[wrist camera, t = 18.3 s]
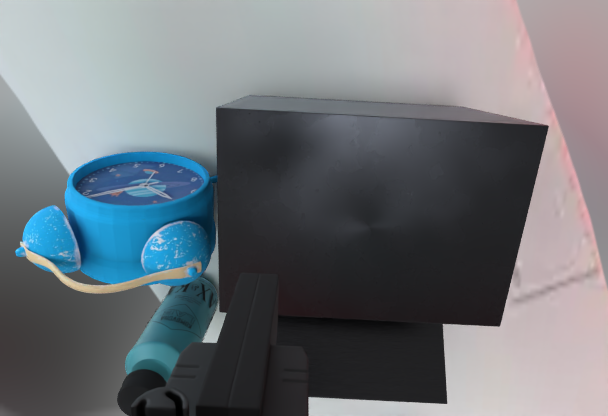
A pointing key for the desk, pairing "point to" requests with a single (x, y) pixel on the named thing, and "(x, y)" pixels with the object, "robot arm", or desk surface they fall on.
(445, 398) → the oven door
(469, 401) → the desk surface
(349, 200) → the oven
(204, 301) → the beverage bottle
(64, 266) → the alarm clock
